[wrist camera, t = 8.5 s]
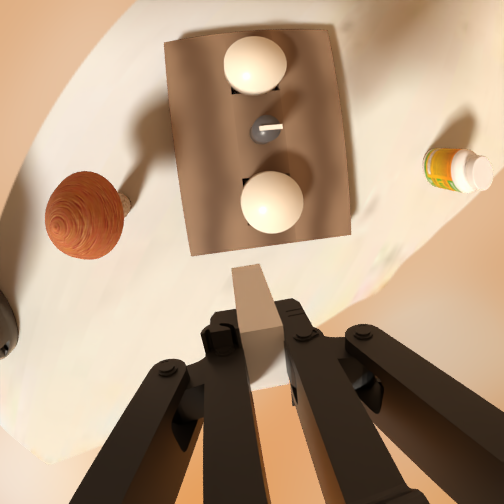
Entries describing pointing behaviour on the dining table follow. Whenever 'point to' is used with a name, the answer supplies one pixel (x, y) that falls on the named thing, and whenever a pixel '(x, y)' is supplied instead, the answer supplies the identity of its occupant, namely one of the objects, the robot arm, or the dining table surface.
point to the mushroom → (86, 215)
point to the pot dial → (265, 129)
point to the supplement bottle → (457, 170)
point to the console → (248, 152)
